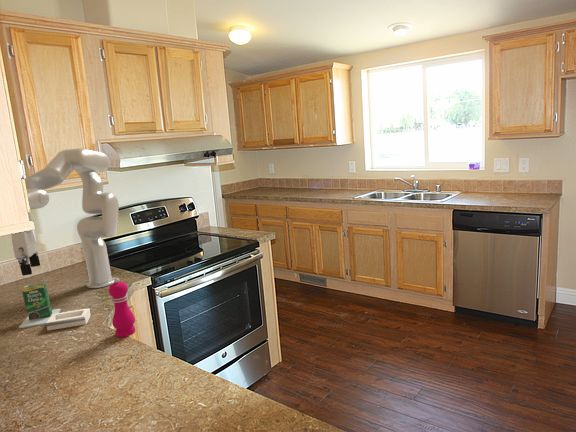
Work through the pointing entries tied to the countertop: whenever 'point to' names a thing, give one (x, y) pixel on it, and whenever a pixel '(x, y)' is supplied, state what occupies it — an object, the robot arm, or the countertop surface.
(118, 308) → the pepper mill
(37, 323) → the tile
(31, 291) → the coffee box
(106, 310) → the countertop surface
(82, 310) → the caddy
